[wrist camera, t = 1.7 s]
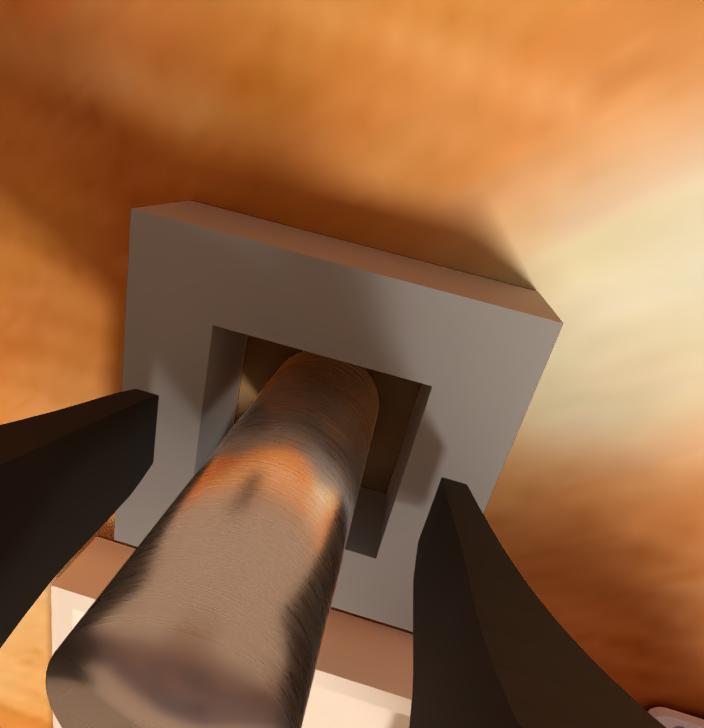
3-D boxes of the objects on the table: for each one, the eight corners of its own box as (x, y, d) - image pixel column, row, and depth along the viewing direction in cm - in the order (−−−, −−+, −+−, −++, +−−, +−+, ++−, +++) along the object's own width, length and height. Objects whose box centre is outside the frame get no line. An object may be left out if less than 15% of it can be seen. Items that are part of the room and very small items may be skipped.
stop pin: (391, 365, 15) (318, 676, 6) (364, 460, 16) (271, 833, 7) (280, 335, 15) (44, 589, 6) (262, 431, 17) (47, 757, 7)
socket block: (537, 291, 14) (563, 323, 11) (432, 563, 17) (431, 637, 15) (190, 200, 14) (130, 207, 11) (163, 482, 18) (114, 539, 15)
